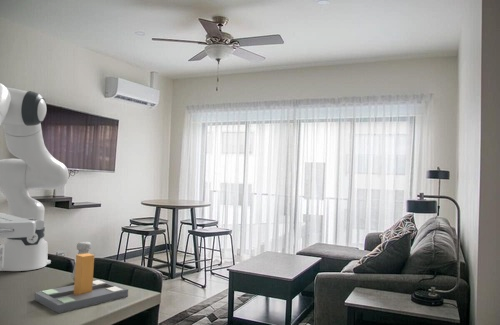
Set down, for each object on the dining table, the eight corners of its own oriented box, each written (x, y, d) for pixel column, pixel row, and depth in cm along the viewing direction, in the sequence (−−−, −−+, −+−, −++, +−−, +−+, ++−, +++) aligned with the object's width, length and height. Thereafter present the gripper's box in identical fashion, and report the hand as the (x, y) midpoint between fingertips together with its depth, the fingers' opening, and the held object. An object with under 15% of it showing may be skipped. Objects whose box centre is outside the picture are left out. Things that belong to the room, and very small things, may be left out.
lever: (73, 293, 107) (76, 254, 108) (85, 291, 110) (88, 253, 110) (79, 296, 105) (82, 256, 105) (91, 294, 108) (94, 255, 108)
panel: (34, 299, 104) (34, 291, 104) (101, 285, 120) (102, 278, 120) (58, 313, 95) (58, 304, 95) (127, 296, 111) (128, 288, 111)
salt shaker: (83, 286, 118) (86, 244, 119) (67, 284, 119) (70, 242, 120) (94, 281, 124) (97, 241, 124) (79, 279, 125) (82, 240, 126)
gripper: (-7, 217, 81) (58, 214, 92) (-37, 208, 94) (24, 207, 104) (-10, 247, 81) (57, 240, 91) (-39, 234, 93) (22, 230, 104)
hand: (39, 222), depth 98 cm, fingers open, 3 cm apart
